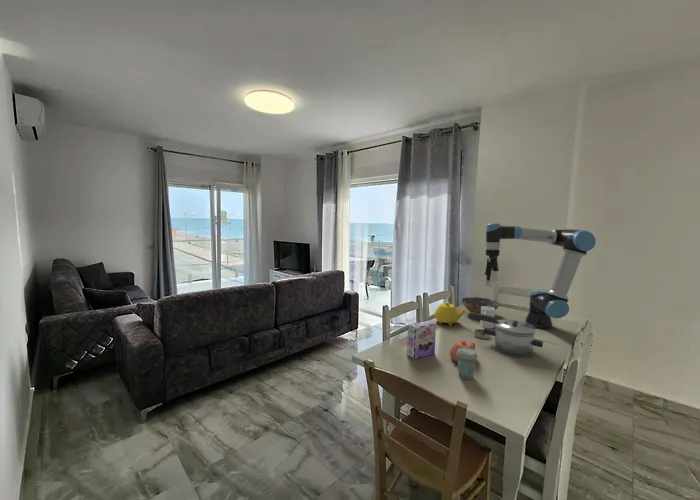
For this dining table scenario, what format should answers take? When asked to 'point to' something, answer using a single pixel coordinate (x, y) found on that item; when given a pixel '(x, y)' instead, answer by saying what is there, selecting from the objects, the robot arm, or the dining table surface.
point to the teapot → (448, 313)
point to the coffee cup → (466, 362)
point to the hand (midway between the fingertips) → (491, 283)
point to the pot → (514, 343)
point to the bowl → (478, 304)
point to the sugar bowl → (459, 345)
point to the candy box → (421, 339)
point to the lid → (506, 324)
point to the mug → (490, 312)
